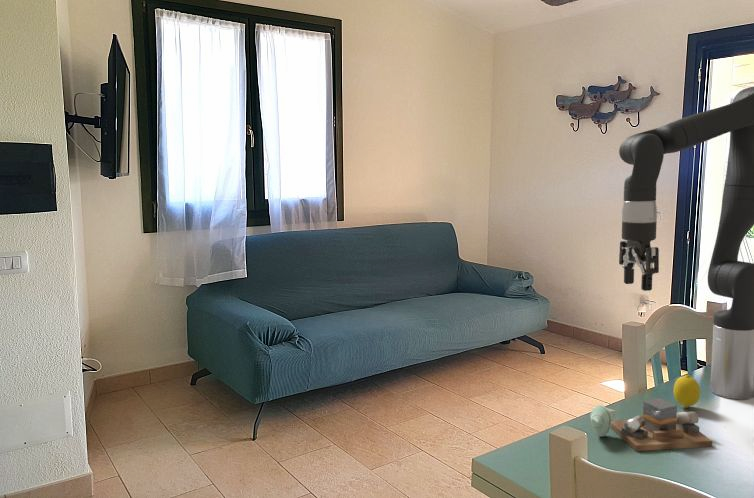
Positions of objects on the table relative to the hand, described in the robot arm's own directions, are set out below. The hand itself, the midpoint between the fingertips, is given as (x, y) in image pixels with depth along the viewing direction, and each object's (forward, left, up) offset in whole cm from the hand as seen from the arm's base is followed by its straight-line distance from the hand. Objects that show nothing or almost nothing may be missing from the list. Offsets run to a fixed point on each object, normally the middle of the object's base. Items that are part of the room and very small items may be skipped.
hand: (637, 286), depth 141 cm
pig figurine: (+17, +19, -28) cm, 38 cm away
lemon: (-9, +7, -28) cm, 31 cm away
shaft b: (+11, +22, -27) cm, 36 cm away
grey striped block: (+5, +20, -27) cm, 34 cm away
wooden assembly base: (+5, +20, -28) cm, 35 cm away
